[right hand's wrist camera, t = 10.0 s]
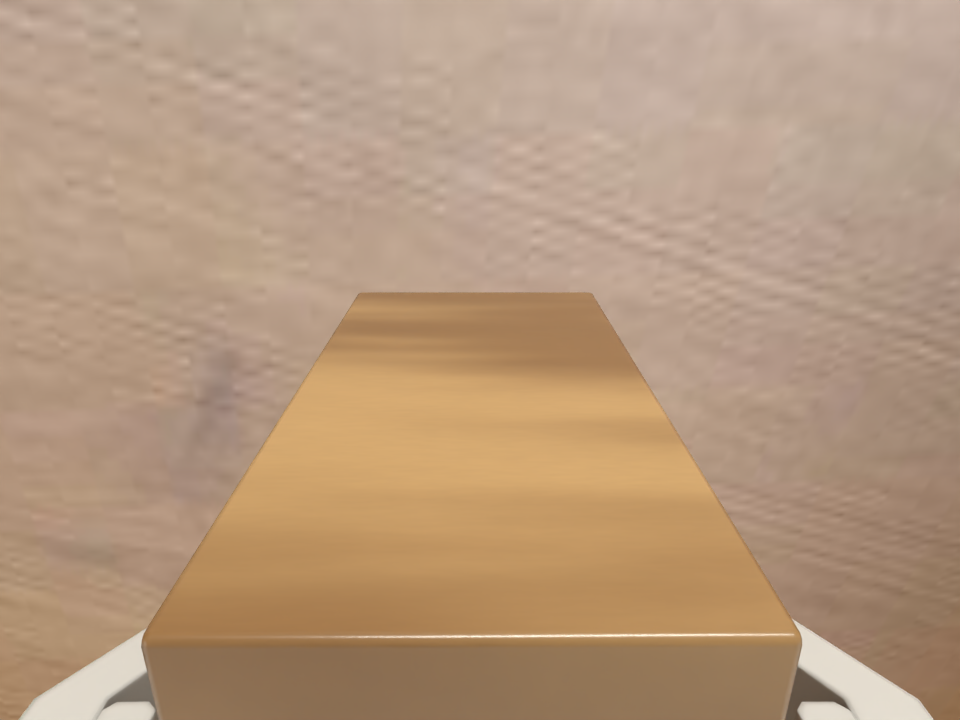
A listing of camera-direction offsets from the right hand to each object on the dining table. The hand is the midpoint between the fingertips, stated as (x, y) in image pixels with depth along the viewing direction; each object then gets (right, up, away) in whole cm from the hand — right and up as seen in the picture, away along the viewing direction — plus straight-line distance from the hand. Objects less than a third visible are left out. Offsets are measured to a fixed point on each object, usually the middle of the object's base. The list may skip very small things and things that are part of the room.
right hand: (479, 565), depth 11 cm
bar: (0, -7, +7) cm, 10 cm away
